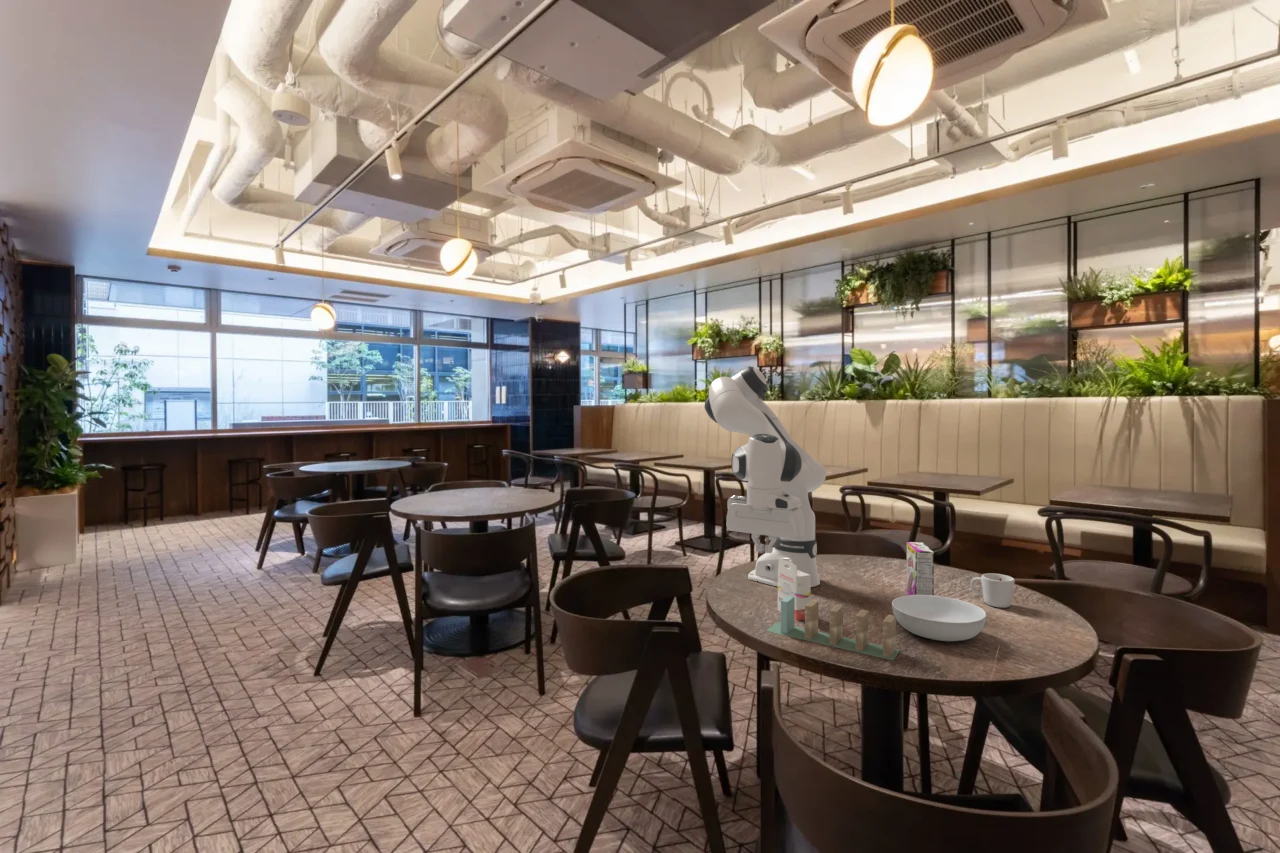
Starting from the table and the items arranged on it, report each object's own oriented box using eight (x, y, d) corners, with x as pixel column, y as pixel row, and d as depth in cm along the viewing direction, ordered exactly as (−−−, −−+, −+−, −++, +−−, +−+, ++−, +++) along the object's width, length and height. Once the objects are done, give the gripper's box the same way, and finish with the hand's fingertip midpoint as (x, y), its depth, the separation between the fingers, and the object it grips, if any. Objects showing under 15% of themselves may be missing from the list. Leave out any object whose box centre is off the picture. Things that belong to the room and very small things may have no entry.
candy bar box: (905, 596, 175) (905, 541, 175) (923, 597, 174) (924, 542, 174) (914, 609, 164) (915, 550, 164) (934, 610, 163) (935, 551, 163)
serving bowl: (969, 622, 155) (970, 596, 154) (999, 655, 134) (1000, 625, 134) (884, 616, 159) (884, 591, 159) (900, 647, 139) (901, 618, 139)
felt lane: (765, 631, 149) (765, 630, 149) (776, 623, 155) (776, 622, 155) (893, 661, 132) (893, 660, 132) (900, 650, 137) (900, 649, 137)
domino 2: (804, 638, 144) (804, 605, 144) (811, 631, 148) (811, 599, 148) (811, 639, 143) (811, 606, 143) (818, 633, 147) (818, 601, 147)
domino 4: (855, 649, 137) (855, 615, 137) (861, 642, 141) (861, 609, 141) (862, 651, 136) (863, 617, 136) (868, 644, 140) (868, 610, 140)
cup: (966, 603, 169) (967, 575, 169) (974, 596, 175) (974, 569, 175) (1010, 612, 162) (1011, 583, 162) (1016, 604, 168) (1017, 576, 168)
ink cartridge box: (811, 618, 158) (812, 563, 157) (796, 621, 156) (796, 565, 155) (791, 608, 166) (791, 556, 165) (776, 610, 164) (776, 558, 163)
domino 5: (882, 656, 134) (883, 621, 133) (888, 648, 138) (888, 614, 138) (890, 657, 133) (890, 622, 133) (895, 650, 137) (895, 615, 137)
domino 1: (780, 632, 148) (780, 600, 147) (788, 626, 152) (788, 595, 151) (786, 634, 147) (787, 602, 146) (794, 627, 151) (794, 596, 150)
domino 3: (829, 643, 141) (829, 610, 140) (835, 637, 145) (836, 604, 144) (836, 645, 140) (836, 611, 139) (842, 638, 144) (842, 605, 144)
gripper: (722, 496, 155) (722, 548, 156) (798, 503, 143) (797, 560, 144) (732, 493, 160) (732, 544, 161) (807, 500, 148) (806, 554, 149)
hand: (764, 551), depth 152 cm, fingers closed
